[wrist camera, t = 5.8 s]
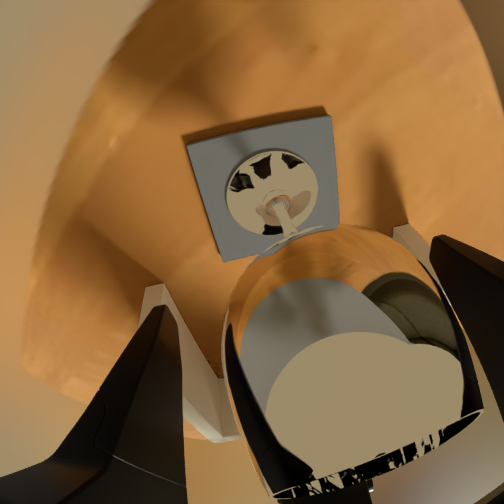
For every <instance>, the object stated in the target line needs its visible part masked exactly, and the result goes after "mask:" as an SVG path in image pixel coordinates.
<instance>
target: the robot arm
mask: <svg viewBox="0 0 504 504" xmlns="http://www.w3.org/2000/svg"><path fill="white" fill-rule="evenodd" d="M429 260H430V263H431V265H432V267H433V269H434V271H435V273H436V275H437V277H438V279H439V282H440V284H441V286H442V288H443V290H444V292H445V294H446V296H447V298H448V300H449V302H450V304H451V306H452V307H453V309H454V311H455V313H456V315H457V316H458V318H459V320H460V322H461V324H462V326H463V328H464V329H465V332H466V334H467V336H468V337H469V339H470V342H471V344H472V346H473V347H474V350H475V352H476V354H477V356H478V358H479V361H480V363H481V365H482V367H483V370H484V372H485V374H486V377H487V379H488V381H489V383H490V386H491V389H492V391H493V394H494V397H495V399H496V402H497V405H498V407H499V410H500V413H501V416H502V419H503V422H504V262H503V261H501V260H499V259H497V258H495V257H493V256H491V255H489V254H487V253H485V252H482V251H480V250H478V249H476V248H474V247H471V246H469V245H467V244H465V243H462V242H460V241H458V240H455V239H453V238H451V237H448V236H446V235H443V234H442V235H438V236H435V237H433V239H432V243H431V248H430V253H429ZM372 491H373V482H372V479H369V480H366V481H364V482H361V483H358V484H354V485H351V486H348V487H345V488H341V489H337V490H334V491H329V492H325V493H321V494H316V495H311V496H305V497H299V498H291V499H277V500H278V503H279V504H372V501H371V497H370V493H369V492H372ZM0 504H188V501H187V489H186V475H185V459H184V437H183V394H182V361H181V352H180V343H179V332H178V325H177V322H176V320H175V318H174V316H173V314H172V313H171V311H170V309H169V307H168V306H167V305H165V304H163V305H158V306H155V307H153V308H152V310H151V311H150V313H149V314H148V315H147V317H146V318H145V320H144V321H143V323H142V324H141V326H140V327H139V329H138V330H137V332H136V333H135V335H134V336H133V338H132V339H131V341H130V342H129V344H128V345H127V347H126V348H125V350H124V351H123V353H122V354H121V356H120V357H119V359H118V360H117V362H116V363H115V365H114V366H113V368H112V369H111V371H110V373H109V374H108V376H107V377H106V379H105V380H104V382H103V383H102V385H101V387H100V388H99V391H97V393H96V394H95V396H94V398H93V399H92V401H91V402H90V404H89V405H88V407H87V409H86V410H85V412H84V413H83V414H82V416H81V417H80V419H79V420H78V422H77V423H76V424H75V426H74V427H73V428H72V430H71V431H70V432H69V434H68V435H67V437H66V438H65V439H64V441H63V442H62V443H61V445H60V446H59V448H58V449H57V450H56V452H55V453H54V454H53V455H52V456H50V457H49V458H48V459H46V460H45V461H43V462H41V463H38V464H36V465H33V466H31V467H28V468H25V469H23V470H20V471H17V472H15V473H12V474H9V475H6V476H3V477H0ZM474 504H504V483H502V484H501V485H500V486H498V487H497V488H496V489H494V490H493V491H492V492H491V493H489V494H487V495H486V496H485V497H483V498H482V499H480V500H479V501H477V502H476V503H474Z"/></svg>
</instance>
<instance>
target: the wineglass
mask: <svg viewBox="0 0 504 504" xmlns="http://www.w3.org/2000/svg"><path fill="white" fill-rule="evenodd" d="M318 191H319V189H318V181H317V178H316V175H315V173H314V171H313V169H312V168H311V166H310V165H309V164H308V163H307V162H306V161H305V160H304V159H302V158H300V157H299V156H297V155H295V154H293V153H289V152H285V151H266V152H262V153H258V154H256V155H254V156H252V157H250V158H248V159H247V160H246V161H244V162H243V163H242V164H240V166H239V167H238V168H237V169H236V170H235V171H234V173H233V175H232V176H231V178H230V180H229V183H228V186H227V190H226V201H227V207H228V210H229V212H230V214H231V216H232V218H233V219H234V220H235V221H236V223H237V224H238V225H240V226H241V227H242V228H244V229H245V230H247V231H249V232H251V233H254V234H258V235H264V236H273V235H280V234H284V238H282V239H280V240H278V241H277V242H276V243H274V244H273V245H271V246H270V247H269V248H267V249H266V250H264V251H263V252H261V253H260V255H259V256H258V257H257V258H256V259H255V260H254V261H253V262H252V263H251V264H250V265H249V266H248V267H247V268H246V270H245V271H244V272H243V274H242V275H241V276H240V278H239V279H238V281H237V283H236V284H235V286H234V288H233V290H232V292H231V294H230V296H229V300H228V303H227V306H226V310H225V313H224V318H223V326H222V334H221V360H222V368H223V375H224V382H225V387H226V391H227V395H228V399H229V402H230V406H231V410H232V413H233V416H234V419H235V422H236V425H237V428H238V431H239V433H240V436H241V438H242V440H243V442H244V445H245V447H246V450H247V452H248V455H249V458H250V461H251V463H252V466H253V468H254V470H255V472H256V474H257V475H258V478H259V480H260V481H261V483H262V485H263V487H264V489H265V491H266V493H267V494H268V496H269V498H270V499H291V498H299V497H305V496H311V495H316V494H321V493H325V492H329V491H334V490H337V489H341V488H345V487H348V486H351V485H354V484H358V483H361V482H364V481H366V480H369V479H372V478H375V477H377V476H380V475H382V474H385V473H387V472H390V471H392V470H394V469H397V468H399V467H401V466H403V465H405V464H407V463H409V462H411V461H413V460H415V459H417V458H419V457H421V456H423V455H425V454H427V453H428V452H430V451H432V450H434V449H435V448H437V447H439V446H440V445H442V444H444V443H445V442H447V441H448V440H450V439H451V438H453V437H454V436H456V435H457V434H458V433H460V432H461V431H463V430H464V429H465V428H467V427H468V426H469V425H470V424H471V423H473V422H474V421H475V420H476V419H477V418H478V417H479V416H480V415H481V414H482V413H483V411H484V407H483V402H482V398H481V393H480V389H479V385H478V380H477V377H476V373H475V369H474V365H473V362H472V358H471V355H470V351H469V348H468V345H467V342H466V339H465V336H464V334H463V331H462V329H461V327H460V325H459V322H458V320H457V318H456V316H455V314H454V312H453V310H452V308H451V306H450V304H449V301H448V299H447V297H446V296H445V294H444V292H443V291H442V289H441V287H440V286H439V284H438V283H437V282H436V280H435V279H434V278H433V276H432V275H431V274H430V272H429V271H428V270H427V269H426V267H425V266H424V265H423V264H422V262H421V261H420V260H419V259H418V258H417V257H415V256H414V255H413V254H412V253H411V252H410V251H408V250H407V249H406V248H405V247H404V246H402V245H401V244H400V243H399V242H397V241H396V240H394V239H392V238H391V237H389V236H387V235H386V234H384V233H381V232H379V231H376V230H374V229H372V228H368V227H364V226H359V225H351V224H324V225H320V226H315V227H311V228H307V229H303V230H300V231H298V230H297V229H296V228H297V227H298V226H300V225H301V224H302V223H303V222H304V221H305V220H306V219H307V218H308V217H309V216H310V214H311V213H312V211H313V210H314V208H315V205H316V203H317V199H318Z"/></svg>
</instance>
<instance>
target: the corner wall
mask: <svg viewBox="0 0 504 504" xmlns="http://www.w3.org/2000/svg"><path fill="white" fill-rule="evenodd" d="M392 239H394V240H396V241H397V242H399V243H400V244H401V245H402V246H404V247H405V248H406V249H407V250H408V251H410V252H411V253H412V254H413V255H414V256H415V257H417V258H418V259H419V260H420V261H421V262H422V264H423V265H424V266H425V267H426V269H427V270H428V271H429V272H430V274H431V275H432V276H433V278H434V279H435V280H436V282H437V283H438V284H439V286H440V287H441V289H442V291H443V292H444V290H443V288H442V286H441V284H440V282H439V279H438V277H437V275H436V273H435V271H434V269H433V267H432V265H431V263H430V260H429V253H430V248H431V246H430V245H429V244H428V243H427V242H426V241H425V240H424V239H423V237H422V236H421V235H420V234H419V233H418V232H417V231H416V230H415V229H414V228H413V227H412V226H411V225H410V224H406V225H402V226H398V227H394V228H393V238H392ZM444 294H445V292H444ZM445 296H446V294H445ZM446 297H447V296H446ZM447 299H448V298H447ZM448 301H449V300H448ZM163 304H165V305H167V306H168V307H169V309H170V311H171V313H172V314H173V316H174V318H175V320H176V322H177V325H178V332H179V343H180V352H181V361H182V394H183V418H185V419H186V420H187V421H188V422H189V423H190V424H191V425H192V426H193V427H195V428H196V429H197V430H198V431H199V432H200V433H201V434H203V435H204V436H205V437H206V438H207V439H208V440H210V441H211V442H212V443H219V442H227V441H235V440H241V439H242V438H241V436H240V433H239V431H238V428H237V425H236V422H235V419H234V416H233V413H232V410H231V406H230V402H229V399H228V395H227V391H226V387H225V382H224V378H220V379H218V378H217V376H216V375H215V373H214V371H213V370H212V368H211V366H210V365H209V363H208V361H207V360H206V358H205V356H204V355H203V353H202V351H201V350H200V348H199V346H198V345H197V343H196V341H195V339H194V338H193V336H192V334H191V332H190V331H189V329H188V327H187V325H186V323H185V322H184V320H183V318H182V316H181V314H180V312H179V311H178V309H177V307H176V305H175V303H174V301H173V299H172V298H171V296H170V294H169V292H168V290H167V288H166V286H165V284H164V283H162V284H157V285H153V286H149V287H146V288H145V293H144V298H143V303H142V308H141V314H140V319H139V325H138V329H139V327H140V326H141V324H142V323H143V321H144V320H145V318H146V317H147V315H148V314H149V313H150V311H151V310H152V308H153V307H155V306H158V305H163ZM449 304H450V302H449ZM450 306H451V304H450Z"/></svg>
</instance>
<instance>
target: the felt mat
mask: <svg viewBox="0 0 504 504" xmlns="http://www.w3.org/2000/svg"><path fill="white" fill-rule="evenodd" d="M187 149H188V153H189V156H190V159H191V163H192V166H193V169H194V173H195V176H196V179H197V182H198V186H199V189H200V192H201V195H202V198H203V202H204V205H205V208H206V211H207V214H208V217H209V221H210V224H211V227H212V230H213V233H214V236H215V239H216V242H217V245H218V248H219V251H220V254H221V258H222V261H223V262H227V261H232V260H236V259H240V258H244V257H248V256H253V255H257V254H260V253H261V252H263V251H264V250H266V249H267V248H269V247H270V246H271V245H273V244H274V243H276V242H277V241H278V240H280V239H282V238H284V234H280V235H273V236H264V235H258V234H254V233H251V232H249V231H247V230H245V229H244V228H242V227H241V226H240V225H238V224H237V223H236V221H235V220H234V219H233V218H232V216H231V214H230V212H229V210H228V207H227V201H226V190H227V186H228V183H229V180H230V178H231V176H232V175H233V173H234V171H235V170H236V169H237V168H238V167H239V166H240V164H242V163H243V162H244V161H246V160H247V159H248V158H250V157H252V156H254V155H256V154H258V153H262V152H266V151H285V152H289V153H293V154H295V155H297V156H299V157H300V158H302V159H304V160H305V161H306V162H307V163H308V164H309V165H310V166H311V168H312V169H313V171H314V173H315V175H316V178H317V181H318V189H319V191H318V199H317V203H316V205H315V208H314V210H313V211H312V213H311V214H310V216H309V217H308V218H307V219H306V220H305V221H304V222H303V223H302V224H301V225H300V226H298V227H297V228H296V229H297V230H298V231H300V230H303V229H307V228H311V227H315V226H320V225H324V224H340V219H339V199H338V183H337V169H336V157H335V146H334V136H333V127H332V118H331V116H330V115H322V116H315V117H308V118H302V119H296V120H290V121H284V122H279V123H273V124H268V125H263V126H258V127H254V128H249V129H245V130H240V131H236V132H231V133H227V134H223V135H219V136H215V137H211V138H207V139H204V140H200V141H196V142H193V143H189V144H187Z"/></svg>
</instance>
